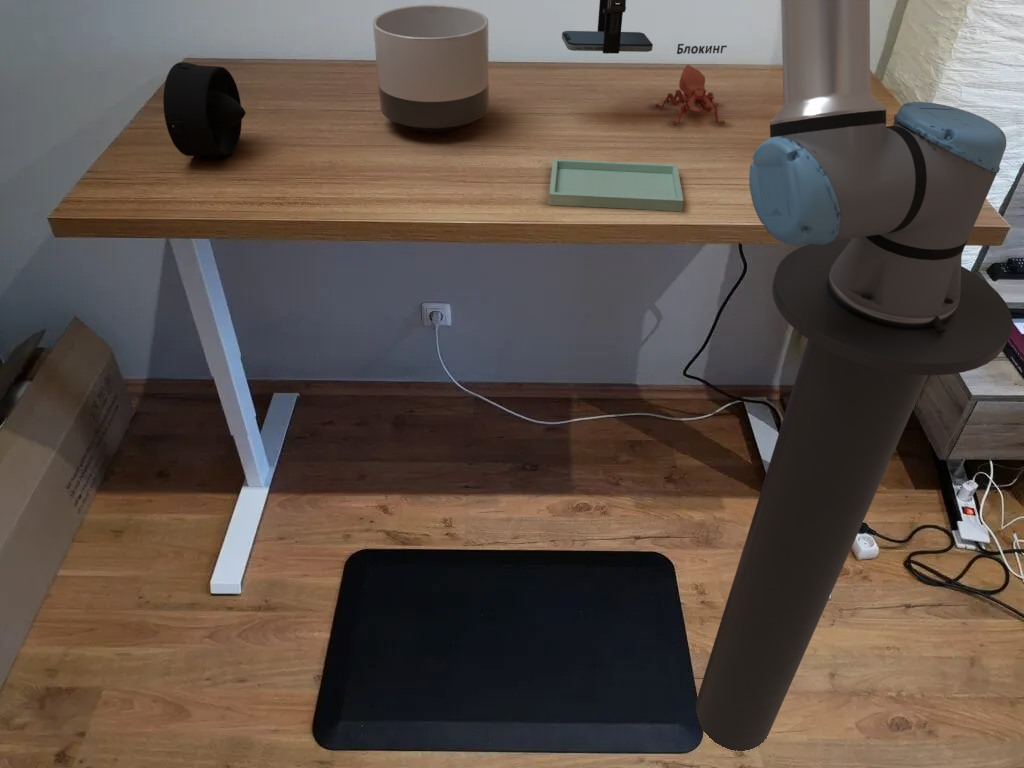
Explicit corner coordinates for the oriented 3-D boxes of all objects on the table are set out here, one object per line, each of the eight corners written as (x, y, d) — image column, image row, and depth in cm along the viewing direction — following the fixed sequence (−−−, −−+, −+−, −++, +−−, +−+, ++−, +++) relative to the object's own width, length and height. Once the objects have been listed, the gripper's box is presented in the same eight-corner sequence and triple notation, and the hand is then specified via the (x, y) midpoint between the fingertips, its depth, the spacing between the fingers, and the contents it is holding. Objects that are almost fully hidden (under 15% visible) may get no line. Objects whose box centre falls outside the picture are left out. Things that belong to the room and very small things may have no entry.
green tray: (681, 211, 121) (683, 200, 120) (548, 204, 122) (549, 193, 121) (675, 174, 131) (677, 164, 129) (552, 168, 132) (552, 158, 131)
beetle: (651, 101, 155) (659, 33, 147) (713, 100, 156) (725, 32, 148) (669, 132, 144) (680, 60, 136) (736, 130, 145) (751, 59, 137)
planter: (361, 132, 142) (349, 27, 131) (416, 97, 156) (410, -2, 144) (457, 153, 136) (454, 44, 125) (506, 114, 149) (507, 13, 138)
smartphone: (654, 44, 137) (568, 43, 136) (653, 54, 138) (567, 53, 137) (644, 31, 143) (561, 29, 141) (642, 41, 144) (560, 39, 142)
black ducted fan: (218, 83, 119) (153, 80, 120) (238, 174, 129) (178, 171, 129) (251, 52, 130) (192, 49, 131) (268, 138, 140) (212, 135, 140)
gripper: (655, -95, 118) (638, 64, 132) (634, -117, 134) (621, 27, 148) (604, -95, 118) (592, 64, 132) (589, -118, 133) (580, 27, 148)
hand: (607, 44), depth 140 cm, fingers closed on smartphone, 8 cm apart
